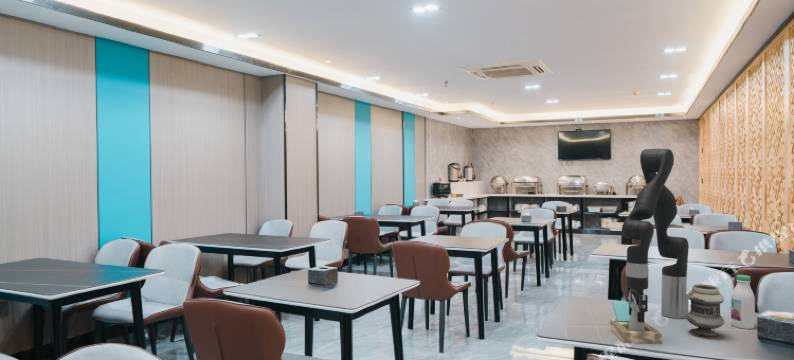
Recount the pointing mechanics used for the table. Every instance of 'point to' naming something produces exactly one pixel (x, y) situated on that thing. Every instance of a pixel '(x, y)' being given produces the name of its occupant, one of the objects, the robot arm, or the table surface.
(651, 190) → the robot arm
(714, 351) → the table surface
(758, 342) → the table surface
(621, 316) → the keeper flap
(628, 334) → the socket block
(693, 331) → the apothecary jar
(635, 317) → the salt shaker
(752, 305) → the milk bottle
